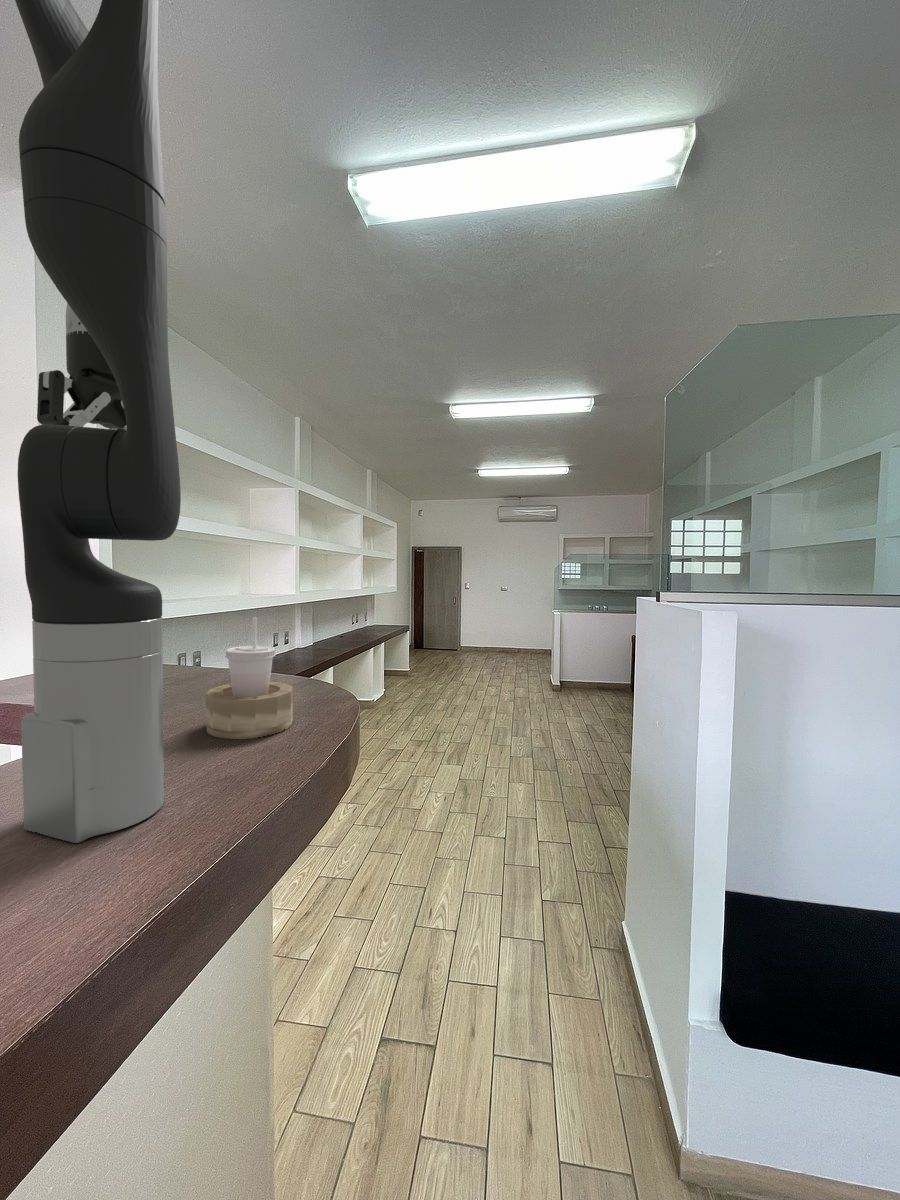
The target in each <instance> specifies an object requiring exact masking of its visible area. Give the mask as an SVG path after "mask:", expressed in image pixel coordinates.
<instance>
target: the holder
mask: <svg viewBox="0 0 900 1200" xmlns="http://www.w3.org/2000/svg"><path fill="white" fill-rule="evenodd" d="M293 697H294V687H293V685H290V684H287V683H284V682H280V681H279V682H277V681H270V683H269V690H268V695H263V696H256V697H233V693H232V685H231V683H227V684H223V685H220V686H216V687H212V688H210V689H209V690H207V692H206V693H205V724H206V733H207V734H208V735H210V736H212V737H215V738H219V739H225V740H249V739H251V740H252V739H259V738H258V737H260V738H264V737H263V736H266V737H268V736H267V735H270V736H272V735H271V734H274V733H277V732H280V731H282V730H284V729H286V728H288V727H289V726H290V725H291V724H292V725H293V723H292V721H293V719H294V718H293V717H294V716H293V715H294V713H293V711H294V706H293V705H294V703H293V702H294V701H293V700H294V698H293ZM274 735H275V734H274Z"/></svg>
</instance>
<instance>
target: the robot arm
mask: <svg viewBox="0 0 900 1200" xmlns="http://www.w3.org/2000/svg"><path fill="white" fill-rule="evenodd" d="M14 2H15V4H16V7H17V10H18V12H19V13H18V14H19V15H20V17H21V20H22V23H23V26H24V28H25V32H26V34H27V38H28V39H29V40H28V41H29V42H30V43H29V44H30V45H31V48H32V51H33V54H34V57H35V60H36V63H37V67H38V70H39V74H40V78H41V81H42V85H43V87H42V89H41V90H40V91H39V92H38V94H37V95H36V96H35V98H34V99H33V101H32V102H31V104H29V106H28V108H27V111H26V113H25V115H24V117H23V120H22V124H21V127H20V128H19V135H18V150H19V162H20V163H19V164H20V176H21V187H22V189H21V190H22V199H23V201H22V202H23V211H24V220H25V228H26V232H27V236H28V238H29V239H28V240H29V242H30V245H31V246H32V249H33V251H34V253H35V255H36V257H37V259H38V261H39V262H40V264H41V265H42V267H43V270H45V272H46V274H47V275H48V277H49V278H50V280H51V281H52V283H53V284H54V286H55V288H56V289H57V290H58V292H59V293H60V294H61V296H62V297H63V299H64V300H65V302H66V308H65V309H66V310H65V353H66V354H65V355H66V356H65V357H66V361H65V362H66V371H67V374H68V375H69V377H66V376H65V374H64V372H62V371H61V370H59V369H55V370H49V371H40V372H39V374H38V384H37V385H38V386H37V387H38V388H37V410H36V411H37V412H36V420H37V422H38V423H39V424H38V425H36V426H34V427H32V428H30V429H29V430H28V432H26V434H25V435H24V437H23V439H22V441H21V444H20V448H19V453H18V458H17V486H18V487H17V490H18V501H19V508H20V509H19V510H20V519H21V530H22V541H23V543H22V544H23V552H24V553H23V556H24V572H25V573H24V574H25V581H26V587H27V589H28V594H29V597H30V602H31V603H30V604H31V619H32V623H31V624H32V625H31V626H32V657H33V658H32V668H33V669H32V671H33V674H32V675H33V707H34V708H33V712H30V713H27V714H25V715H23V716H22V717H21V723H20V729H21V764H22V766H21V767H22V769H21V770H22V799H23V801H22V802H23V803H22V804H23V805H22V806H23V830H24V829H26V830H25V831H27V830H29V832H31V831H32V833H35V832H38V833H37V834H39V833H40V835H42V834H43V836H47V837H50V838H55V839H59V840H62V841H66V842H70V843H73V844H78V843H81V842H83V841H86V840H88V839H89V838H91V837H95V836H100V835H105V834H109V833H113V832H116V831H120V830H122V829H126V828H128V827H130V826H133V825H137V824H139V823H140V822H142V821H144V820H146V819H148V818H150V817H152V816H153V815H154V814H155V813H157V812H158V811H159V810H160V809H161V808H162V806H163V804H164V802H165V801H164V791H165V790H164V789H165V787H164V785H165V783H164V779H165V778H164V777H165V776H164V681H163V680H164V677H163V676H164V675H163V674H164V670H163V668H164V667H163V664H164V663H163V661H164V660H163V658H164V657H163V649H164V648H163V641H164V639H163V596H162V592H161V590H160V589H159V587H158V586H156V585H155V584H152V583H150V582H147V581H144V580H141V579H139V578H135V577H132V576H129V575H126V574H123V573H121V572H118V571H116V570H115V569H113V568H111V567H109V566H107V565H106V564H104V563H103V562H101V561H100V560H98V558H96V556H95V555H94V554H93V551H92V549H91V546H90V545H91V544H90V539H93V540H95V539H96V540H112V541H113V540H115V541H117V540H118V541H123V540H124V541H127V540H128V541H146V542H147V541H149V542H151V541H152V542H153V541H155V542H156V541H164V540H168V539H169V538H170V537H172V536H173V534H175V531H176V529H177V527H178V524H179V521H180V513H181V476H180V465H179V454H178V453H179V452H178V447H177V446H178V445H177V444H178V443H177V436H176V426H175V416H174V408H173V395H172V385H171V384H172V383H171V375H170V361H169V360H170V359H169V340H168V338H169V337H168V336H169V334H168V333H169V331H168V329H169V328H168V326H169V325H168V244H167V243H168V240H167V239H168V238H167V217H166V216H167V214H166V197H165V196H166V195H165V182H164V180H165V179H164V169H163V167H164V166H163V165H164V164H163V153H162V152H163V151H162V141H161V140H162V138H161V137H162V136H161V126H160V125H161V123H160V110H159V107H160V106H159V79H158V78H159V73H158V72H159V69H158V68H159V67H158V65H159V63H158V62H159V60H158V59H159V7H160V6H159V4H160V3H159V0H101V3H100V6H99V10H98V12H97V15H96V16H95V20H94V22H93V24H92V25H91V28H90V29H88V28H87V27H86V25H85V23H84V22H83V20H82V19H81V17H80V15H79V14H78V12H77V10H76V9H75V8H74V6H73V4H72V2H71V1H70V0H14ZM66 393H68V395H69V396H70V398H71V400H72V401H73V403H72V404H71V405H69V407H68V408H67V409H66V410H65V411H64V403H65V394H66ZM86 424H92V425H100V426H102V427H104V428H101V427H100V428H98V427H89V426H85V425H86Z"/></svg>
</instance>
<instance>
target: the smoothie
mask: <svg viewBox="0 0 900 1200" xmlns="http://www.w3.org/2000/svg"><path fill="white" fill-rule="evenodd" d="M275 656H276V649H275V648H274V647H273V646H266V645H258V617H256V616H255V617H252V645H243V646H241V645H240V646H235V647H234V646H233V647H229V648H227V649H225V659H227V660H228V661H227V662H228V667H229V674H230V675H229V676H230V684H231V685H232V693H233V697H256V696H263V695H268V690H269V683H270V682H271V676H272V675H271V673H272V669H273V659H274V658H275Z"/></svg>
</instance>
